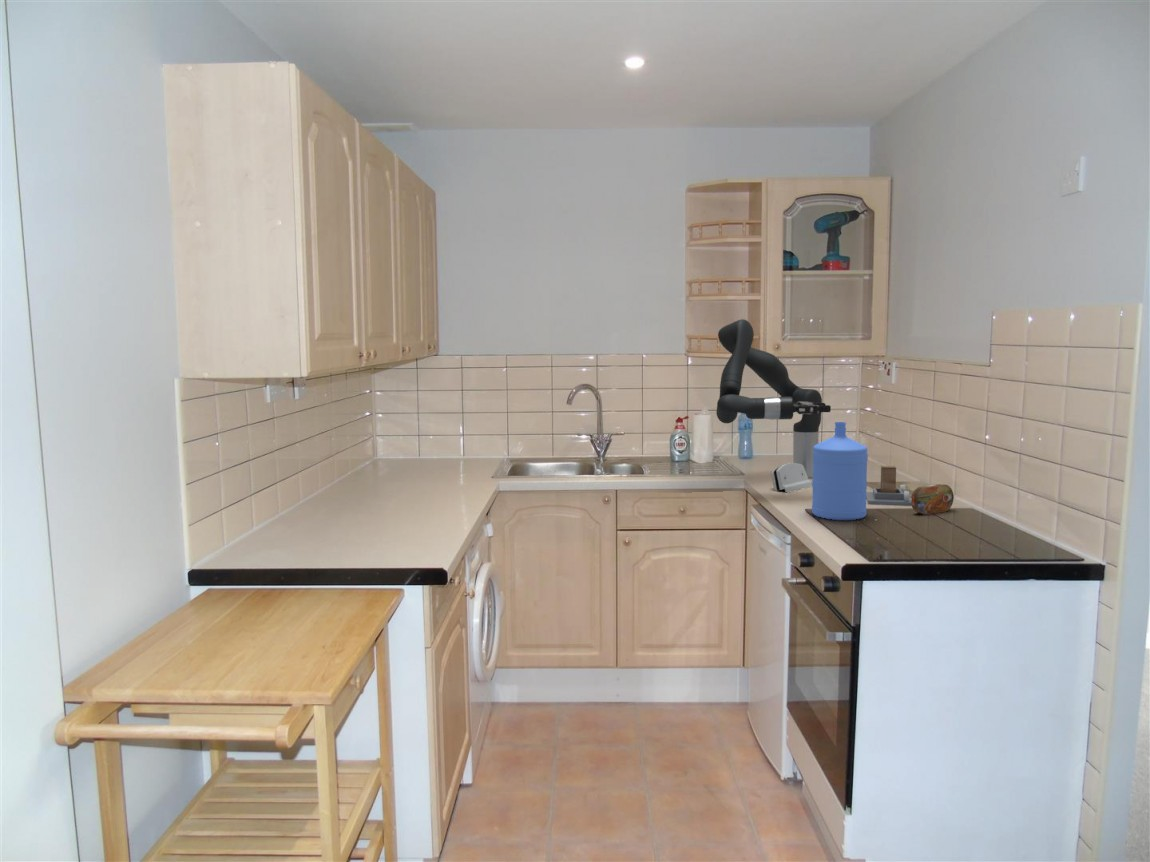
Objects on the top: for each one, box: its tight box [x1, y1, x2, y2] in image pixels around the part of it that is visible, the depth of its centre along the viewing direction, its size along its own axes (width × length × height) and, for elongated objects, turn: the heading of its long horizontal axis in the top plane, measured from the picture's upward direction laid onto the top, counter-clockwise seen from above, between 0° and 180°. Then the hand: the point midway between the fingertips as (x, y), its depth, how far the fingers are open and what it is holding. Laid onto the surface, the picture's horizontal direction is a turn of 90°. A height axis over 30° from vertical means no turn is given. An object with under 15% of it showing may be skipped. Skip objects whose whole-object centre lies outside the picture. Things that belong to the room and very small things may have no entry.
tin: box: [910, 483, 955, 516], centre depth 243 cm, size 15×3×8 cm, turn 114°
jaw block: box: [880, 465, 897, 493], centre depth 261 cm, size 4×4×10 cm
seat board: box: [866, 484, 912, 507], centre depth 261 cm, size 15×13×4 cm
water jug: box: [811, 421, 869, 521], centre depth 240 cm, size 16×16×28 cm
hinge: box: [770, 462, 812, 493], centre depth 284 cm, size 17×5×10 cm, turn 131°
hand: (827, 407), depth 265 cm, fingers open, 8 cm apart
